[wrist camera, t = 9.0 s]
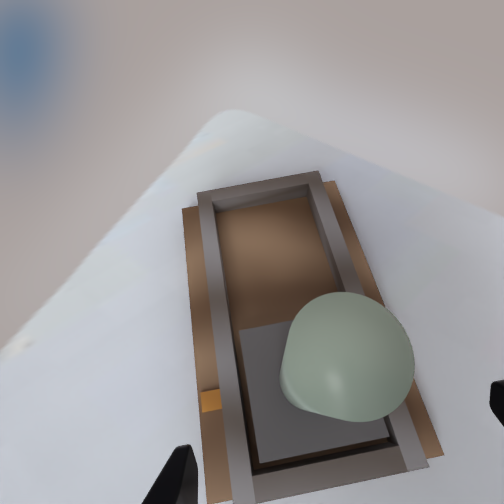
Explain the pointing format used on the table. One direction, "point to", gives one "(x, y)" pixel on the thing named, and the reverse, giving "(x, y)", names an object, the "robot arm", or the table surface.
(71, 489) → the table surface
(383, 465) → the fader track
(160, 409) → the table surface
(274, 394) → the fader knob
